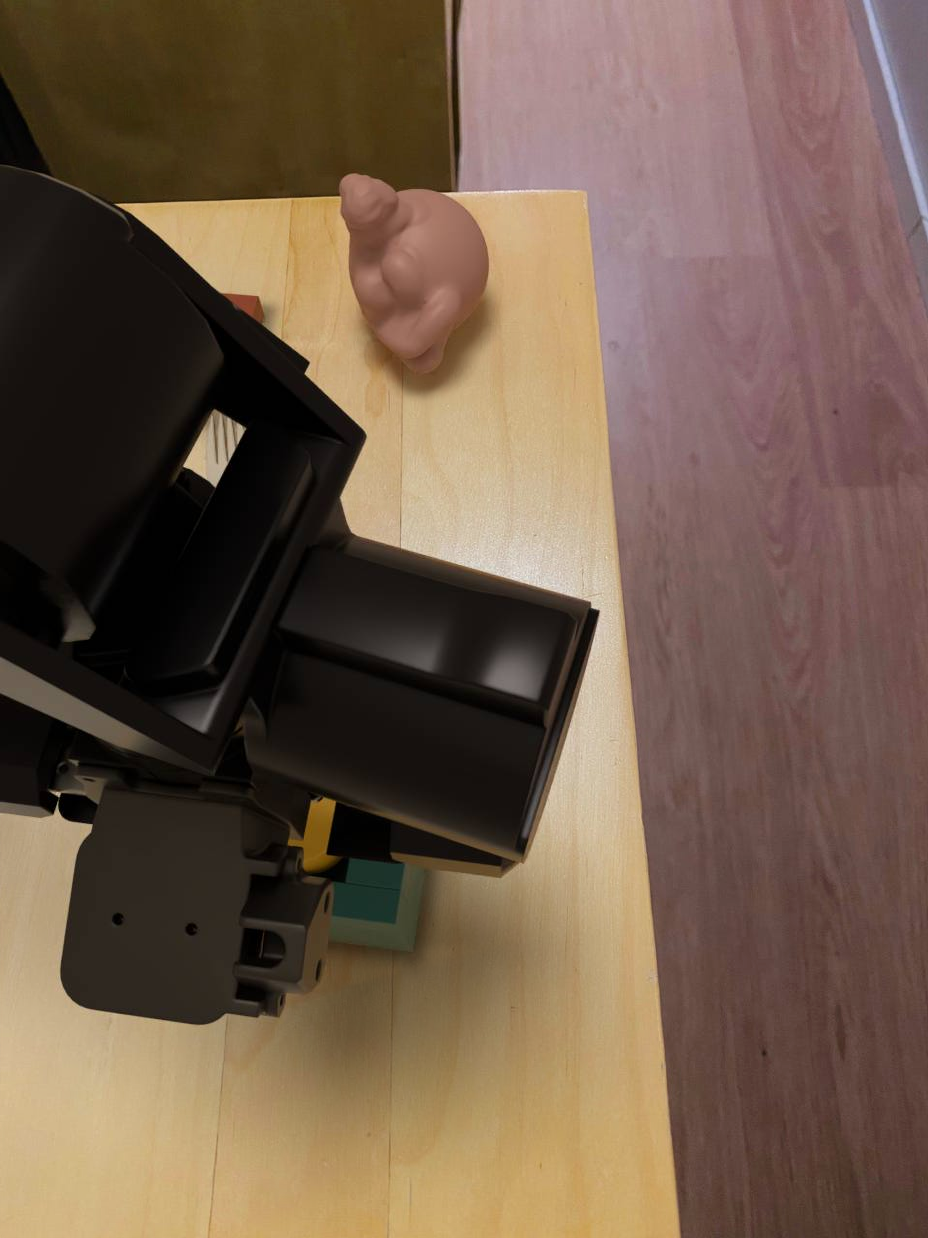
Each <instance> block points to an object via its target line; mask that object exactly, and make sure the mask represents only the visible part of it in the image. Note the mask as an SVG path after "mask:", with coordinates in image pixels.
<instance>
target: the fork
mask: <svg viewBox="0 0 928 1238" xmlns="http://www.w3.org/2000/svg"><path fill="white" fill-rule="evenodd" d="M209 419H210V420H209V424H208V431H207V438H206V447H205V448H206V449H205V476H206V477H205V478H206V480H208V481H209V482H210V483H211V484H212V485H213V486H214V487H216V485H217V483H218V481H219V479H220V477H221V476H222V474H223V472H224V470H225V468H226V466H227V464H228V462H229V460H230V458H231V456H232V454H233V452H234V450H235V448H236V446H237V445H238V443H239V441H240V439H241V437H242V435H243V433H244V431H245V429H244V427H243V426H241V425H240V424H238V423H236V443H235V435H234V429H233V423H232V422H233V420H231V419H230V418H228V417H227V420H226V439H225V430H224V418H223V414H222V413H219V418H218V419H219V420H218V428H217V453H216V439H215V426H214V425H215V424H214V423H215V422H214V415H210V418H209ZM225 440H226V441H225ZM226 443H227V444H226ZM236 444H237V445H236ZM226 445H227V446H226ZM226 447H227V449H226ZM226 450H227V451H226ZM227 458H228V459H227Z"/></svg>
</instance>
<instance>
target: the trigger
mask: <svg viewBox="0 0 928 1238" xmlns="http://www.w3.org/2000/svg"><path fill="white" fill-rule="evenodd" d="M335 804H336V801H333V800H330V799H327V798H324V797H323V799H322V800H321V801H320V802H318V803H311V804H310V809H309V814H308V819H307V824H306V829H305V834H304V839H303V841H299V840H292V839H289V840H288V845H290V846H299V847H303V850H304V860H303V868H304V870H305V872H306V873H307V874H308V875H314V874H319V873H322V872H324V871H326V870H329V869H330V868H332V867H333V866H334V865H336V864H337V863H338V862H339V861H340V860H341V859H342V857H337V856H329V855H326V851H327V846H328V841H329V835H330V830H331V825H332V820H333V814H334V809H335Z"/></svg>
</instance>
